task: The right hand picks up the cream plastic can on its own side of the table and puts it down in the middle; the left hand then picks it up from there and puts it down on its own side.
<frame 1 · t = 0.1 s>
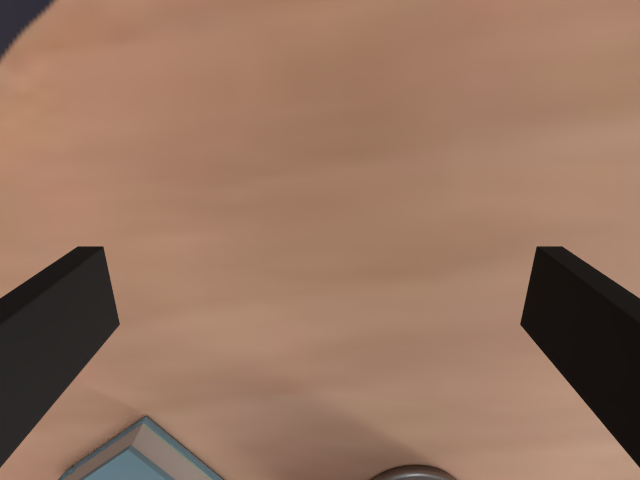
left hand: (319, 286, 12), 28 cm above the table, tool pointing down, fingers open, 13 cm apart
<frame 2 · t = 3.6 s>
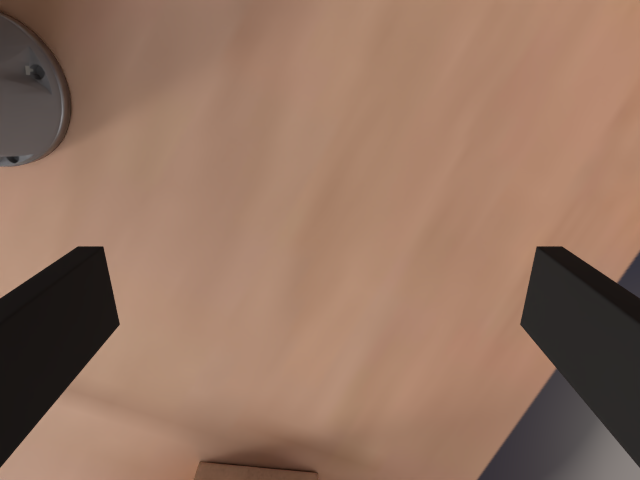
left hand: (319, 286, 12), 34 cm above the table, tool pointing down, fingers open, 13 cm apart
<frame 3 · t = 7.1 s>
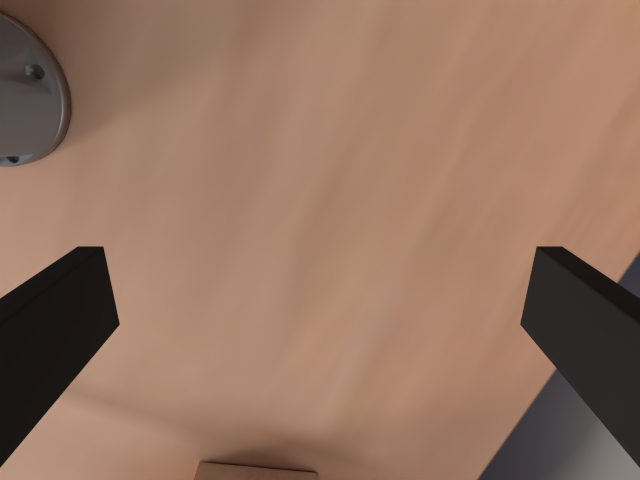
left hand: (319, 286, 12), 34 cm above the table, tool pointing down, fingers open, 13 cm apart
when the right hand's fingers open (3 cm above the table, at t = 10.5 s): can drops 2 cm, on the table.
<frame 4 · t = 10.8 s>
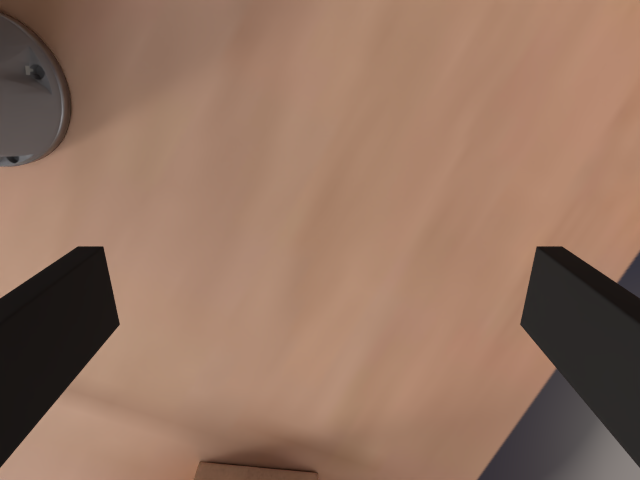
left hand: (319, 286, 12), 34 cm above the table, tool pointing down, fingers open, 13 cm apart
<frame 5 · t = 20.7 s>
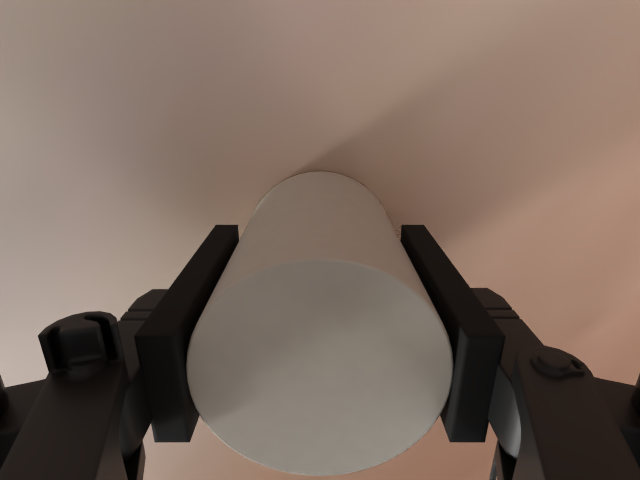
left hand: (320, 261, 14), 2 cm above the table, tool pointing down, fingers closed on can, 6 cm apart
can: (319, 241, 16), on the table, touching left hand
when the left hand's fingers open (3 cm above the table, at t = 30.3 s): can drops 2 cm, on the table.
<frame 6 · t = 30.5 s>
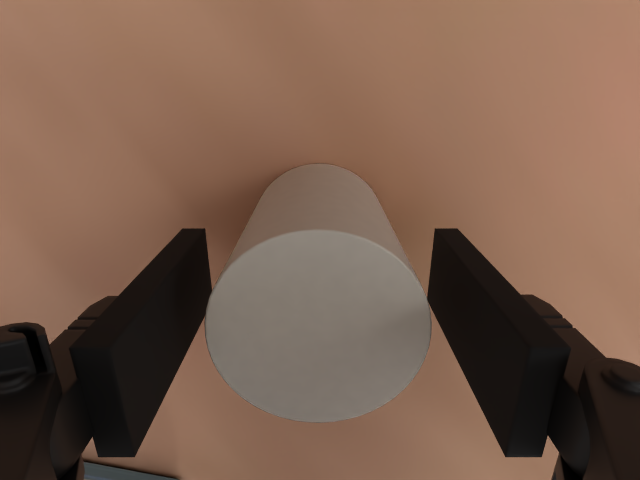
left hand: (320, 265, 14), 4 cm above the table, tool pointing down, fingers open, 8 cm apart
can: (318, 227, 17), on the table
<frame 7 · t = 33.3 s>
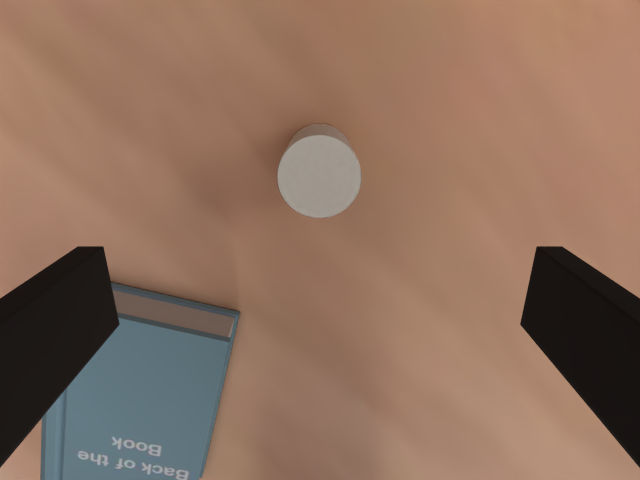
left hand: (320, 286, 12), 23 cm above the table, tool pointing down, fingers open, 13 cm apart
book: (146, 382, 43), on the table
can: (319, 157, 34), on the table
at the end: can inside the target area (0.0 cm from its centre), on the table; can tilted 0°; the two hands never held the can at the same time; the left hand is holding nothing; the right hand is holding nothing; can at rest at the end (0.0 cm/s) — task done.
